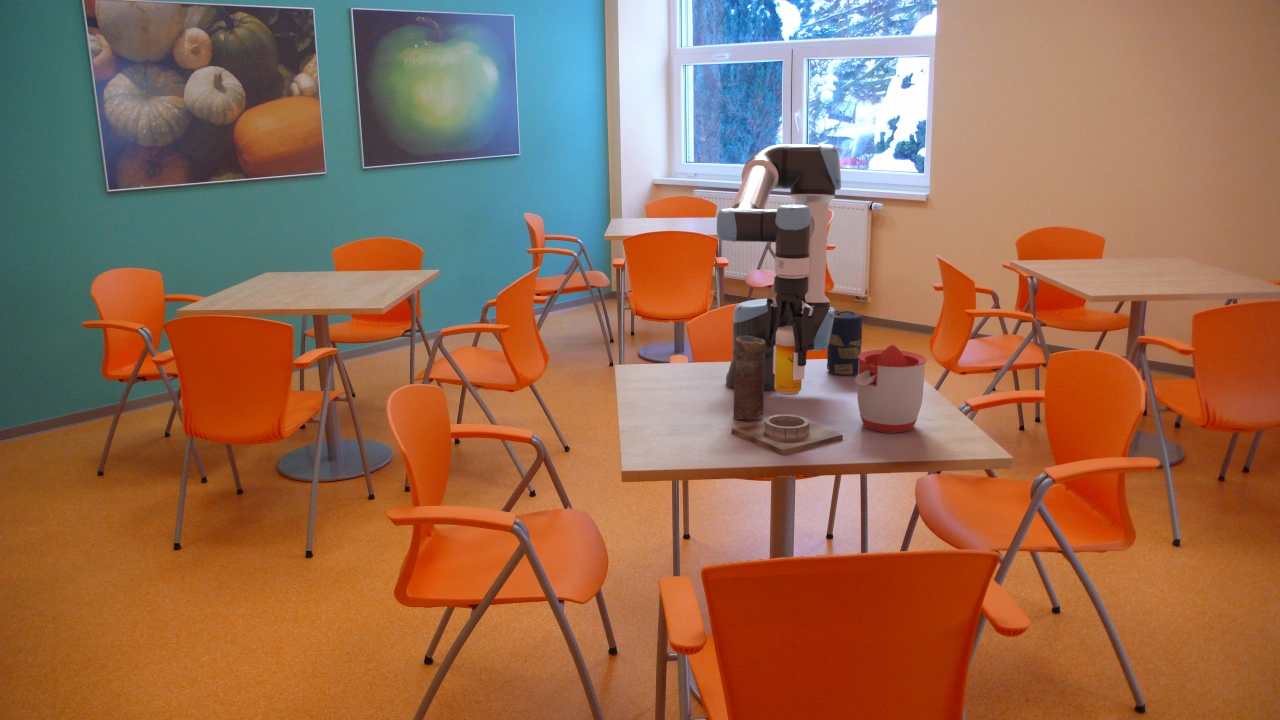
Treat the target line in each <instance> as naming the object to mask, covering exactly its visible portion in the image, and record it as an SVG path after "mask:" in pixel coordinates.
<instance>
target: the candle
mask: <svg viewBox="0 0 1280 720" xmlns="http://www.w3.org/2000/svg"><path fill="white" fill-rule="evenodd" d="M764 376H765V340H763V339H760V338H756V337H752V336H738V337H737V338H736V354H735V387H734V389H733V392H734V394H733V418H734V419H737V420H747V421H751V420H755V419H759V418H761V417H762V416H763V415H764V414H765V413H764V412H765V411H764V410H765V409H764V408H765V391H764Z"/></svg>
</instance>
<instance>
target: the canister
mask: <svg viewBox="0 0 1280 720" xmlns="http://www.w3.org/2000/svg"><path fill="white" fill-rule="evenodd" d="M862 338H863V317H862V315H861V314H860V313H858V312H857V313H856V312H853V311H849V310H843V311H839V312H835V314H834V321H833V327H832V332H831V337H830V341H829V345H828V347H827V348H826V351H827V352H826V353H827V354H826V355H827V356H826V357H827V358H826V359H827V360H826V370H827V371H828V372H830V373H832V374H835V375H842V376H849V375H850V376H851V375H855V374H858V367H859V359H858V355H859V354H860V353H862V345H863V344H862V343H863V339H862Z"/></svg>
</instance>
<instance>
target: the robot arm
mask: <svg viewBox="0 0 1280 720" xmlns="http://www.w3.org/2000/svg"><path fill="white" fill-rule="evenodd" d="M840 165H841V163H840V155H839V149H838V148H837V147H836V145H834V144H827V143H776V144H773V145H770V146H767V147H765V148H762V149H760V150H759V151H757V152H756V153H755V154H753V155H752V156H751V157H750V158H749V159H747V161H746V163H745V164H744V165H743V168H742V172H741V180H742V181H741V184H740V186H739V189H738V192H737V193H736V194H737V195H736V196H735V199H734V202H733V204H732V206H731V207H728V208H721V209H719V211H718V213H717V215H716V216H717V217H716V234H717V235H716V236H717V238H718V239H719V240H720V241H725V242H732V243H735V242H740V243H741V242H744V243H745V242H746V243H748V242H751V243H775V252H774V253H775V254H774V257H775V258H774V274H775V277H773V278H774V280H773V281H774V284H773V292H774V293H775V294H776V296H775V297H770V298H758V299H757V298H756V299H752V300H747V301H742V302H740V303H739V304H736V305H735V307H734V309H733V320H732V323H733V325H732V326H733V328H732V329H733V331H732V333H733V335H732V341H733V342H732V343H733V344H732V358H731V362H730V363H729V364H730V365H729V368H728V372H727V373H726V377H725V379H726V380H725V385H726V386H727V387H728V388H730V389H733V390H734V387H735V354H736V338H737V337H738V336H752V337H756V338H760V339H763V340H765V376H764V392H770V391H773V390H775V389H774V384H775V348H776V332H777V330H778V327H784V326H792V327H793V333H794V338H795V344H796V349H797V350H794V361H793V380H800V379H802V380H804V379H805V366H807V355H808V354H807V353H808V352H811V351H812V352H813V351H814V352H815V351H819V352H820V351H821V352H822V351H825V350H827V347H828V345H829V341H830V337H831V332H832V327H833V321H834V314H835V313H836V309H835V307H833V306H830V304H831V301H830V299H829V298H828V297H827V296H826V294H825V289H826V288H825V286H826V271H827V270H826V269H827V268H826V266H827V265H826V264H827V250H828V246H827V245H828V227H829V224H828V223H829V205H830V202H831V201H833V199H834V198H835V197H836V191H839V190H841V189H842V177H841V176H842V175H841V166H840ZM774 189H776V190H778V189H779V190H781V189H782V190H790V192H789V193H790V197H791V199H792V200H793V201H794V202H795V204H792V203H791V204H790V203H789V204H782V205H779V206H778V207H777V209H770V208H769V209H765V208H766V206H767V203H768V200H769V197H770V193H771V192H772V191H773V190H774ZM801 345H802V346H801ZM775 391H776V390H775Z"/></svg>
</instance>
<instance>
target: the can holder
mask: <svg viewBox="0 0 1280 720" xmlns="http://www.w3.org/2000/svg"><path fill="white" fill-rule="evenodd" d="M731 434H732V435H734V436H736V437H740V438H742V439H744V440H746V441H749V442H750V443H753V444H756V445H759V446H761V447H763V448H766V449H768V450H771V451H773V452H776V453H778V454H780V455H783V456H784V455H788V454H791V453H797V452H800V451H804V450H808V449H812V448H815V447H819V446H823V445H827V444H831V443H835V442H838V441H839V442H840V441H842V440H843V439H844V438H843V436H844V435H843V434H842V433H839V432H837V431H834V430H832V429H829V428H826V427H823V426H821V425H818V424H815V423H812V422H810V421H809V420H808V418H807V417H803V416H800V415H794V414H775V415H774V414H773V415H771V416H767V417H766V418H765V419H764V420H762V421H758V422H754V423H749V424H745V425H741V426H737V427H733V428H731Z"/></svg>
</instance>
